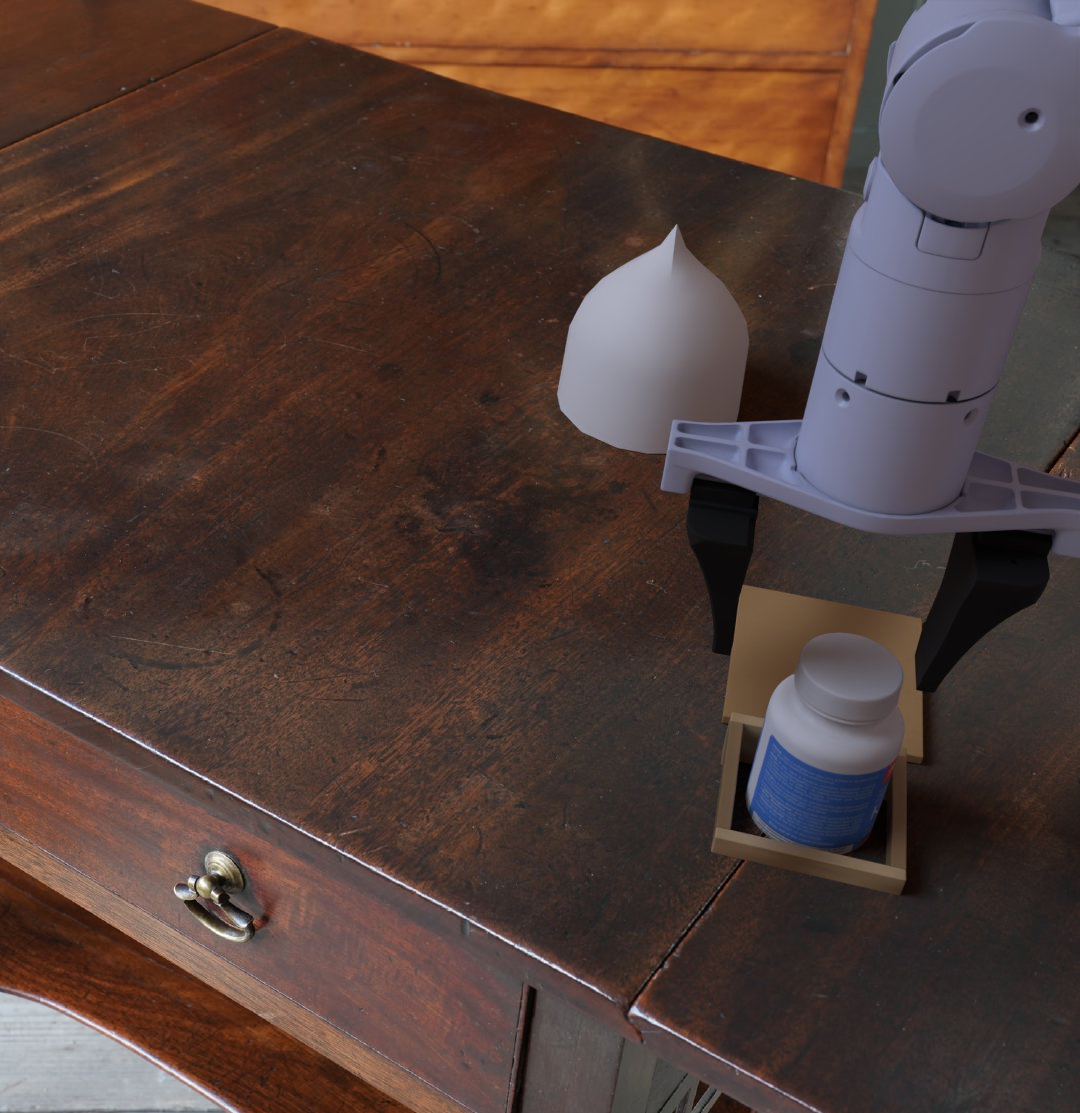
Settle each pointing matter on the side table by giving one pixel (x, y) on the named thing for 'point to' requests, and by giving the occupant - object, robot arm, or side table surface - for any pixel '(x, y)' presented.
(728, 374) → the teardrop
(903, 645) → the pad
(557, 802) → the side table surface
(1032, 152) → the robot arm
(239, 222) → the side table surface
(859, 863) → the frame
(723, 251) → the side table surface
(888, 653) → the pill bottle
